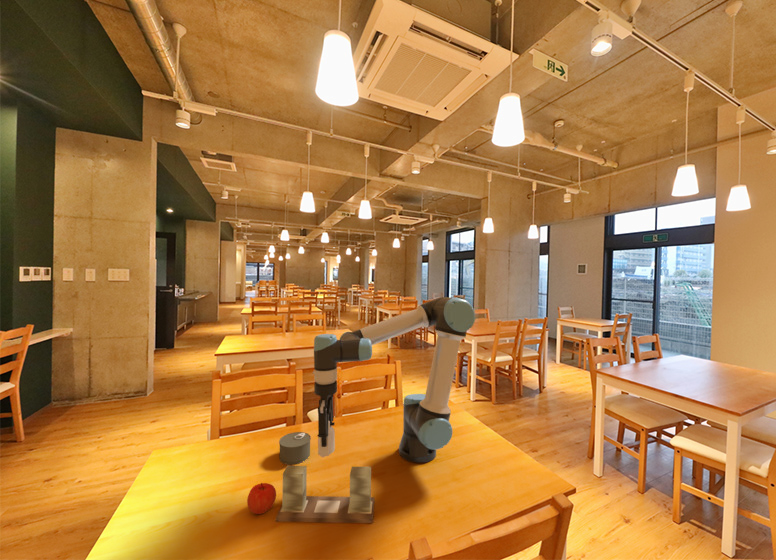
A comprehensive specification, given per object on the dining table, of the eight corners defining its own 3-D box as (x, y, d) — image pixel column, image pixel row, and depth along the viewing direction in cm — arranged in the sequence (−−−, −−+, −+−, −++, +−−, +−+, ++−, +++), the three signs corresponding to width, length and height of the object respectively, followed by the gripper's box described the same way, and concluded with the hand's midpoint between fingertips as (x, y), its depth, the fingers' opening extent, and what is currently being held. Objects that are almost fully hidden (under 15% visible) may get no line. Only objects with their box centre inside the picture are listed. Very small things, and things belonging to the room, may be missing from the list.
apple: (241, 519, 89) (242, 491, 90) (255, 499, 97) (255, 474, 98) (268, 520, 89) (269, 492, 89) (279, 501, 97) (280, 475, 97)
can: (272, 461, 119) (272, 443, 119) (292, 446, 130) (292, 429, 130) (297, 468, 114) (297, 449, 114) (316, 452, 126) (316, 435, 126)
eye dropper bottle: (317, 450, 105) (317, 416, 104) (334, 447, 106) (333, 413, 106) (318, 458, 101) (318, 422, 100) (335, 455, 102) (335, 419, 102)
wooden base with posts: (374, 501, 97) (374, 462, 97) (372, 523, 88) (373, 480, 88) (286, 499, 98) (286, 460, 98) (275, 521, 89) (276, 478, 89)
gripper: (320, 373, 113) (321, 436, 112) (307, 390, 95) (308, 466, 94) (341, 372, 112) (342, 436, 112) (331, 390, 94) (332, 466, 94)
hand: (326, 450), depth 103 cm, fingers closed on eye dropper bottle, 5 cm apart
